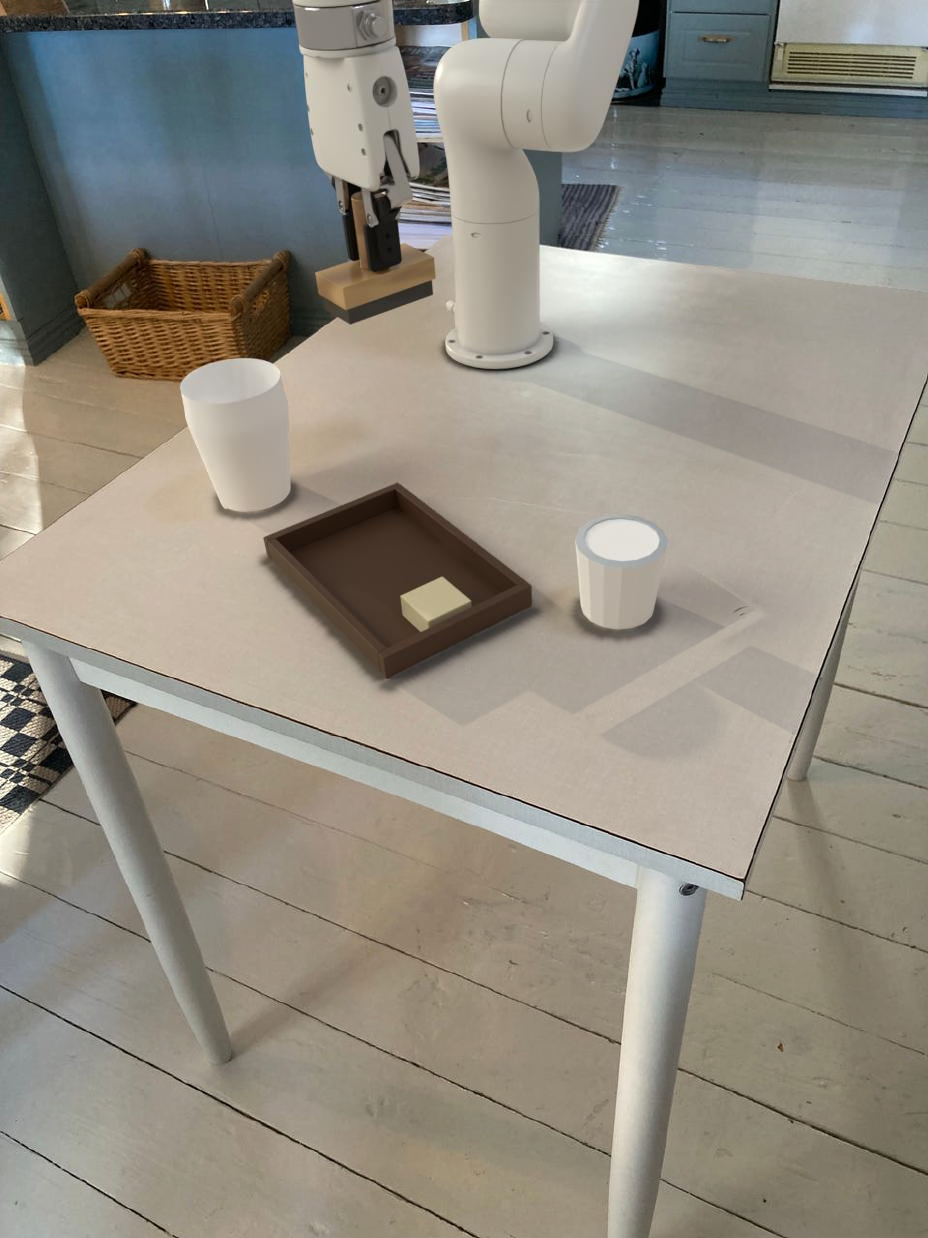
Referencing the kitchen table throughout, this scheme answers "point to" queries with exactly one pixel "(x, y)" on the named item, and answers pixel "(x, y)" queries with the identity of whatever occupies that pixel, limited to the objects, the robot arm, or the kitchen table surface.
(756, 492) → the kitchen table surface
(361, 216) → the brush
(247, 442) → the cup
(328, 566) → the tray
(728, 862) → the kitchen table surface
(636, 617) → the white tapered tub
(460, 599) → the sponge chip
